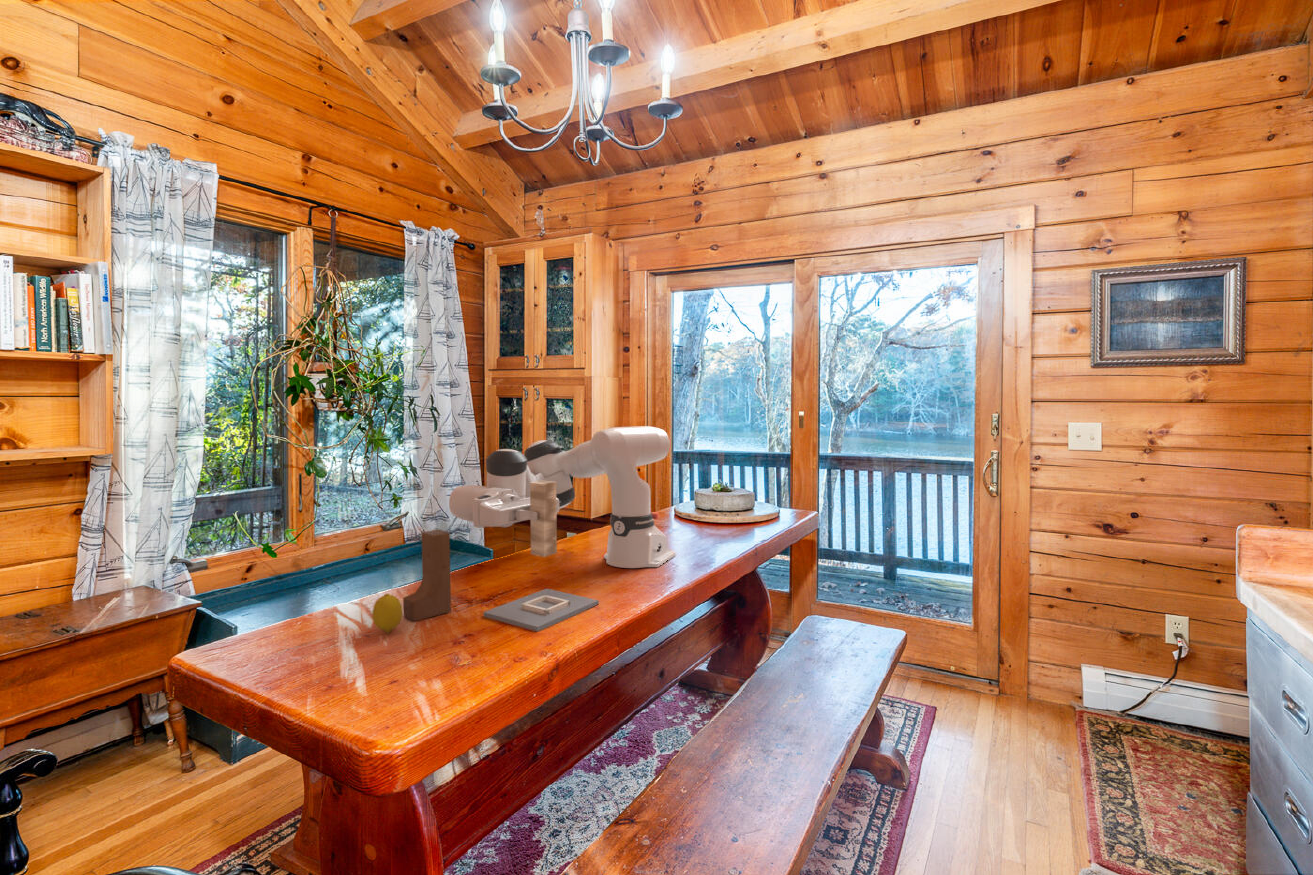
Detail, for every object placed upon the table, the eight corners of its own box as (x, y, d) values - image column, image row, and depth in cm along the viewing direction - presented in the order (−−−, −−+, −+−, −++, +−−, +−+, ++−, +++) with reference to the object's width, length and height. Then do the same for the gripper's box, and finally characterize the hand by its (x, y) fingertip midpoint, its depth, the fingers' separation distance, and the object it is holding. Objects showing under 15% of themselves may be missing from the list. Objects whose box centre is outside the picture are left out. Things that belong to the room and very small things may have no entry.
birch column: (543, 550, 144) (542, 480, 143) (556, 553, 142) (556, 481, 141) (530, 554, 141) (530, 482, 140) (544, 557, 139) (543, 484, 138)
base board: (546, 592, 155) (546, 584, 155) (598, 604, 147) (598, 596, 147) (483, 616, 139) (483, 607, 139) (537, 631, 130) (537, 622, 130)
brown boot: (412, 622, 135) (410, 538, 134) (403, 617, 138) (400, 535, 137) (451, 612, 142) (450, 532, 140) (441, 607, 145) (439, 529, 143)
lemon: (373, 629, 131) (372, 591, 130) (402, 625, 133) (401, 588, 133) (373, 639, 126) (371, 599, 125) (403, 635, 128) (402, 596, 127)
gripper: (534, 513, 157) (577, 520, 149) (468, 528, 140) (513, 536, 132) (534, 488, 156) (577, 493, 149) (467, 500, 139) (512, 506, 132)
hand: (546, 513), depth 140 cm, fingers closed on birch column, 4 cm apart
